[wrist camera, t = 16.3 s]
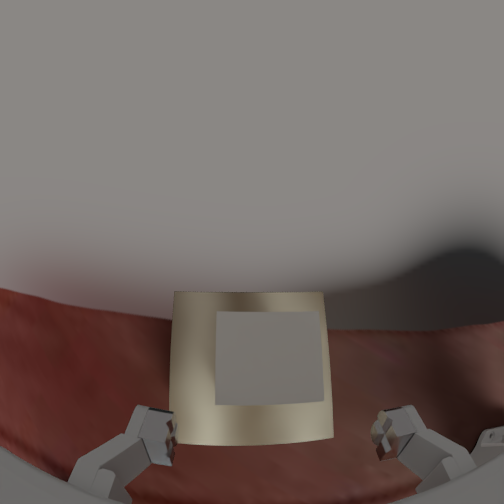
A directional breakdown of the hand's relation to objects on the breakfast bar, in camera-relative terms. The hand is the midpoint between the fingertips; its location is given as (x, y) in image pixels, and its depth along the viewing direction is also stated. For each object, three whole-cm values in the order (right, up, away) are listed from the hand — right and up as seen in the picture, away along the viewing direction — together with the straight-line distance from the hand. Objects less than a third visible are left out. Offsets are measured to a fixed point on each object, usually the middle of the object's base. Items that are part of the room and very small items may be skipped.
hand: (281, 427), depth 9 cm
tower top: (-1, -5, +16) cm, 16 cm away
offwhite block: (-1, -2, +10) cm, 10 cm away
